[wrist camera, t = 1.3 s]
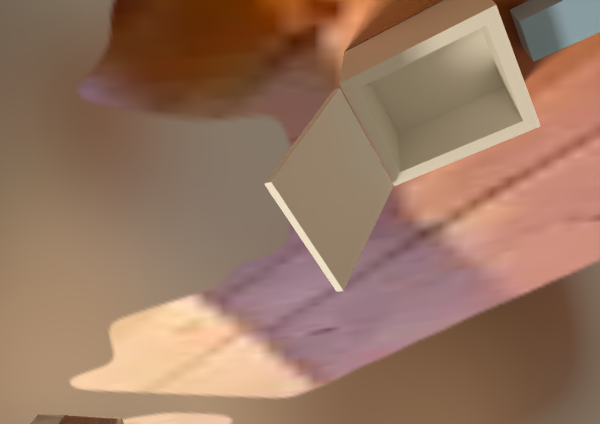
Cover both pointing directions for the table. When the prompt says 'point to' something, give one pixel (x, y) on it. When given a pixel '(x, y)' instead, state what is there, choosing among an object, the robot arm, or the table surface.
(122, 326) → the table surface
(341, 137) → the lid flap
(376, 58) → the carton
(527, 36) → the blue-gray rectangular block
